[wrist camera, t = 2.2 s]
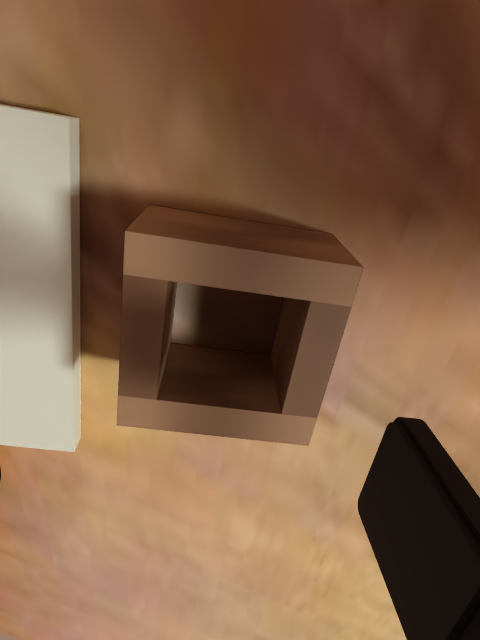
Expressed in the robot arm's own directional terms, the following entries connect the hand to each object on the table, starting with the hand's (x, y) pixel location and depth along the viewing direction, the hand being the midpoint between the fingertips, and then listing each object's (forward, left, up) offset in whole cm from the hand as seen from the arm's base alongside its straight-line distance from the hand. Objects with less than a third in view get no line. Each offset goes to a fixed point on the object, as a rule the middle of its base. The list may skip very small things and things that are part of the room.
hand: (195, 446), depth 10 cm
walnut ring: (-1, 0, -8) cm, 8 cm away
